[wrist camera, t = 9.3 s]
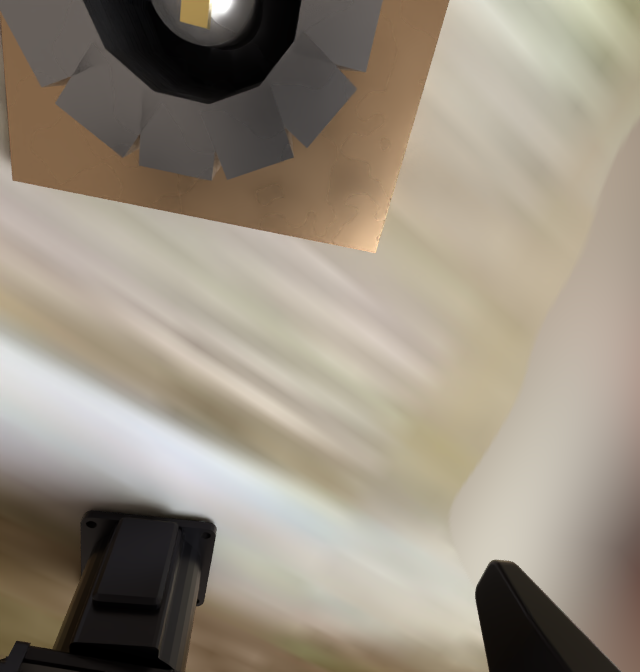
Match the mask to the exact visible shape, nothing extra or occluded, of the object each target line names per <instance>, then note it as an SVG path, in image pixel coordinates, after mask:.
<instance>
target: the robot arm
mask: <svg viewBox="0 0 640 672" xmlns="http://www.w3.org/2000/svg"><path fill="white" fill-rule="evenodd" d="M216 531H217V529H216V526H215V525H214V524H212V523H208V522H199V521H189V520H179V519H170V518H160V517H150V516H140V515H130V514H120V513H110V512H100V511H89V512H86V513H85V514H84V516H83V519H82V521H81V579H80V581H79V584H78V586H77V589H76V591H75V594H74V596H73V599H72V601H71V604H70V606H69V609H68V611H67V614H66V616H65V619H64V621H63V624H62V626H61V629H60V631H59V634H58V636H57V639H56V641H55V644H54V646H53V649H47V648H41V647H35V646H30V644H31V643H28V642H22V641H16V643H15V645H14V647H13V649H12V650H11V652H10V654H9V656H8V657H7V656H6V658H4V659H1V660H0V672H185V668H186V662H187V656H188V650H189V644H190V638H191V632H192V626H193V620H194V614H195V608H196V606H200V605H202V604H203V602H204V598H205V593H206V587H207V582H208V576H209V571H210V565H211V560H212V554H213V548H214V543H215V537H216ZM475 599H476V605H477V610H478V615H479V620H480V626H481V631H482V636H483V641H484V646H485V652H486V657H487V662H488V667H489V672H621V671H620V670H619V669H618V668H617V667H616V666H615V664H614V663H613V662H612V661H611V660H610V659H609V658H608V657H607V656H606V655H605V654H604V653H603V652H602V651H601V650H600V649H599V648H598V647H597V646H596V645H595V644H594V643H593V642H592V641H591V640H590V639H589V638H588V637H587V636H586V635H585V634H584V633H583V632H582V631H581V630H580V629H579V628H578V627H577V626H576V625H575V624H574V623H573V622H572V620H570V618H569V617H568V616H567V615H566V614H565V613H564V612H563V611H562V610H561V609H560V608H559V607H558V606H557V605H556V604H555V603H554V602H553V601H552V600H551V599H550V598H549V597H548V596H547V595H546V594H545V593H544V592H543V591H542V590H541V589H540V588H539V587H538V586H537V585H536V584H535V583H534V582H533V581H532V580H531V579H530V578H529V577H528V576H527V575H526V573H524V571H522V569H521V568H520V567H519V566H518V565H516V564H515V563H514V562H511V561H504V560H492V561H491V562H490V563H489V564H488V566H487V568H486V570H485V572H484V573H483V575H482V577H481V579H480V581H479V582H478V584H477V587H476V591H475Z"/></svg>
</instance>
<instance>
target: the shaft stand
mask: <svg viewBox="0 0 640 672" xmlns="http://www.w3.org/2000/svg"><path fill="white" fill-rule="evenodd" d="M448 3H449V0H383V2H382V6H381V10H380V14H379V19H378V23H377V27H376V31H375V36H374V40H373V44H372V48H371V52H370V57H369V61H368V65H367V69H366V72H358V71H348V70H340V71H341V72H342V73H343V74H344V75H345V76H346V77H347V78H348V79H349V80H350V82H351V83H352V84H353V85H354V86H355V87H356V88H357V90H356V91H355V93H354V94H353V95H352V96H351V97H350V98H349V100H348V101H347V102H346V103H345V104H344V105H343V107H342V108H341V109H340V110H339V111H338V113H337V114H336V115H335V116H334V117H333V118H332V120H331V121H330V122H329V123H328V124H327V125H326V127H325V128H324V129H323V130H322V131H321V133H320V134H319V135H318V136H317V137H316V138H315V140H314V141H313V142H312V143H311V144H310V145H309V147H308V148H306V147H305V146H304V145H303V144H302V143H301V142H300V141H299V140H298V139H297V138H296V137H295V136H294V135H293V134H292V141H293V153H294V158H291V159H288V160H285V161H282V162H279V163H276V164H273V165H270V166H267V167H264V168H261V169H258V170H255V171H253V172H250V173H247V174H244V175H241V176H238V177H235V178H232V179H229V180H227V179H226V176H225V173H224V171H223V168H222V166H221V167H220V169H219V170H218V172H217V173H216V175H215V176H214V178H213V180H212V181H209V180H205V179H200V178H195V177H191V176H186V175H181V174H176V173H172V172H167V171H162V170H158V169H153V168H148V167H143V166H139V150H140V148H139V149H138V150H136V151H134V152H132V153H131V154H129V155H127V156H125V157H124V158H122V157H121V156H120V155H119V154H117V153H116V152H115V151H114V150H112V149H111V148H110V147H109V146H107V145H106V144H105V143H104V142H102V141H101V140H100V139H99V138H97V137H96V136H95V135H94V134H92V133H91V132H90V131H89V130H87V129H86V128H85V127H84V126H82V125H81V124H80V123H79V122H77V121H76V120H75V119H74V118H72V117H71V116H70V115H69V114H67V113H66V112H65V111H64V110H62V109H61V108H60V107H59V106H57V105H56V104H55V102H56V101H57V99H58V98H59V96H60V94H61V93H62V91H63V89H64V88H65V86H66V85H62V86H51V87H41V86H40V84H39V82H38V80H37V78H36V76H35V74H34V73H33V71H32V69H31V67H30V65H29V63H28V61H27V60H26V58H25V56H24V54H23V52H22V50H21V48H20V46H19V45H18V43H17V41H16V39H15V37H14V35H13V33H12V32H11V30H10V28H9V26H8V24H7V22H6V20H5V18H4V17H3V15H2V13H1V11H0V19H1V32H2V45H3V59H4V72H5V86H6V99H7V112H8V126H9V139H10V152H11V166H12V179H13V181H18V182H23V183H28V184H33V185H38V186H43V187H48V188H53V189H58V190H63V191H68V192H73V193H78V194H83V195H88V196H93V197H98V198H103V199H108V200H113V201H118V202H123V203H128V204H133V205H138V206H143V207H148V208H153V209H158V210H163V211H168V212H173V213H178V214H183V215H188V216H193V217H198V218H203V219H208V220H213V221H218V222H223V223H228V224H233V225H238V226H243V227H248V228H253V229H258V230H263V231H268V232H273V233H278V234H283V235H288V236H293V237H298V238H303V239H308V240H313V241H318V242H323V243H328V244H333V245H338V246H343V247H348V248H353V249H358V250H363V251H368V252H373V253H376V249H377V246H378V243H379V239H380V236H381V232H382V229H383V225H384V222H385V219H386V215H387V212H388V208H389V205H390V202H391V198H392V195H393V191H394V188H395V184H396V181H397V178H398V174H399V171H400V167H401V164H402V160H403V157H404V154H405V150H406V147H407V143H408V140H409V137H410V133H411V130H412V126H413V123H414V119H415V116H416V113H417V109H418V106H419V102H420V99H421V95H422V92H423V89H424V85H425V82H426V78H427V75H428V72H429V68H430V65H431V61H432V58H433V54H434V51H435V48H436V44H437V41H438V37H439V34H440V31H441V27H442V24H443V20H444V17H445V13H446V10H447V7H448ZM298 10H299V0H148V12H149V14H150V17H151V19H152V22H153V24H154V27H155V29H156V32H157V34H158V37H159V39H160V41H161V44H162V46H163V49H164V51H165V54H166V55H167V56H168V57H170V58H171V59H172V60H173V61H174V62H175V63H176V64H177V65H178V66H179V67H180V68H181V69H183V70H184V71H185V72H186V73H187V74H188V75H189V76H190V77H191V78H192V79H193V80H195V81H196V82H197V83H200V84H204V85H209V86H213V87H217V88H221V89H225V90H229V91H233V92H234V91H237V90H240V89H242V88H245V87H248V86H251V85H254V84H256V83H259V82H262V81H264V80H265V78H266V77H267V76H268V74H269V73H270V72H271V71H272V69H273V68H274V67H275V65H276V64H277V63H278V61H279V60H280V59H281V58H282V56H283V55H284V54H285V52H286V51H287V50H288V48H289V47H290V46H291V45H292V43H293V40H294V34H295V28H296V22H297V16H298Z"/></svg>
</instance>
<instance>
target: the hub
mask: <svg viewBox="0 0 640 672" xmlns="http://www.w3.org/2000/svg"><path fill="white" fill-rule="evenodd" d="M382 2H383V0H299V10H298V16H297V22H296V28H295V34H294V40H293V43H292V45H291V46H290V47H289V48H288V50H287V51H286V52H285V54H284V55H283V56H282V58H281V59H280V60H279V61H278V63H277V64H276V65H275V67H274V68H273V69H272V71H271V72H270V73H269V74H268V76H267V77H266V78H265V80H264V81H262V82H259V83H256V84H254V85H251V86H248V87H245V88H242V89H240V90H237V91H234V92H233V91H229V90H225V89H221V88H217V87H213V86H209V85H204V84H200V83H197V82H196V81H195V80H193V79H192V78H191V77H190V76H189V75H188V74H187V73H186V72H185V71H184V70H183V69H181V68H180V67H179V66H178V65H177V64H176V63H175V62H174V61H173V60H172V59H171V58H170V57H168V56H167V55H166V54H165V51H164V49H163V46H162V44H161V41H160V39H159V37H158V34H157V32H156V29H155V27H154V24H153V22H152V19H151V17H150V14H149V12H148V0H0V11H1V13H2V15H3V17H4V18H5V20H6V22H7V24H8V26H9V28H10V30H11V32H12V33H13V35H14V37H15V39H16V41H17V43H18V45H19V46H20V48H21V50H22V52H23V54H24V56H25V58H26V60H27V61H28V63H29V65H30V67H31V69H32V71H33V73H34V74H35V76H36V78H37V80H38V82H39V84H40V86H41V87H51V86H62V85H66V86H65V88H64V89H63V91H62V93H61V94H60V96H59V98H58V99H57V101H56V102H55V104H56V105H57V106H59V107H60V108H61V109H62V110H64V111H65V112H66V113H67V114H69V115H70V116H71V117H72V118H74V119H75V120H76V121H77V122H79V123H80V124H81V125H82V126H84V127H85V128H86V129H87V130H89V131H90V132H91V133H92V134H94V135H95V136H96V137H97V138H99V139H100V140H101V141H102V142H104V143H105V144H106V145H107V146H109V147H110V148H111V149H112V150H114V151H115V152H116V153H117V154H119V155H120V156H121V157H122V158H124V157H125V156H127V155H129V154H131V153H132V152H134V151H136V150H138V149H139V148H140V150H139V166H143V167H148V168H153V169H158V170H162V171H167V172H172V173H176V174H181V175H186V176H191V177H195V178H200V179H205V180H209V181H212V180H213V178H214V176H215V175H216V173H217V172H218V170H219V169H220V167H221V166H222V168H223V171H224V173H225V176H226V179H227V180H229V179H232V178H235V177H238V176H241V175H244V174H247V173H250V172H253V171H255V170H258V169H261V168H264V167H267V166H270V165H273V164H276V163H279V162H282V161H285V160H288V159H291V158H294V153H293V141H292V134H293V135H294V136H295V137H296V138H297V139H298V140H299V141H300V142H301V143H302V144H303V145H304V146H305V147H306V148H308V147H309V145H310V144H311V143H312V142H313V141H314V140H315V138H316V137H317V136H318V135H319V134H320V133H321V131H322V130H323V129H324V128H325V127H326V125H327V124H328V123H329V122H330V121H331V120H332V118H333V117H334V116H335V115H336V114H337V113H338V111H339V110H340V109H341V108H342V107H343V105H344V104H345V103H346V102H347V101H348V100H349V98H350V97H351V96H352V95H353V94H354V93H355V91H356V90H357V88H356V87H355V86H354V85H353V84H352V83H351V82H350V80H349V79H348V78H347V77H346V76H345V75H344V74H343V73H342V72H341V71H340V70H348V71H358V72H366V69H367V65H368V61H369V57H370V52H371V48H372V44H373V40H374V36H375V31H376V27H377V23H378V19H379V14H380V10H381V6H382Z"/></svg>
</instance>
